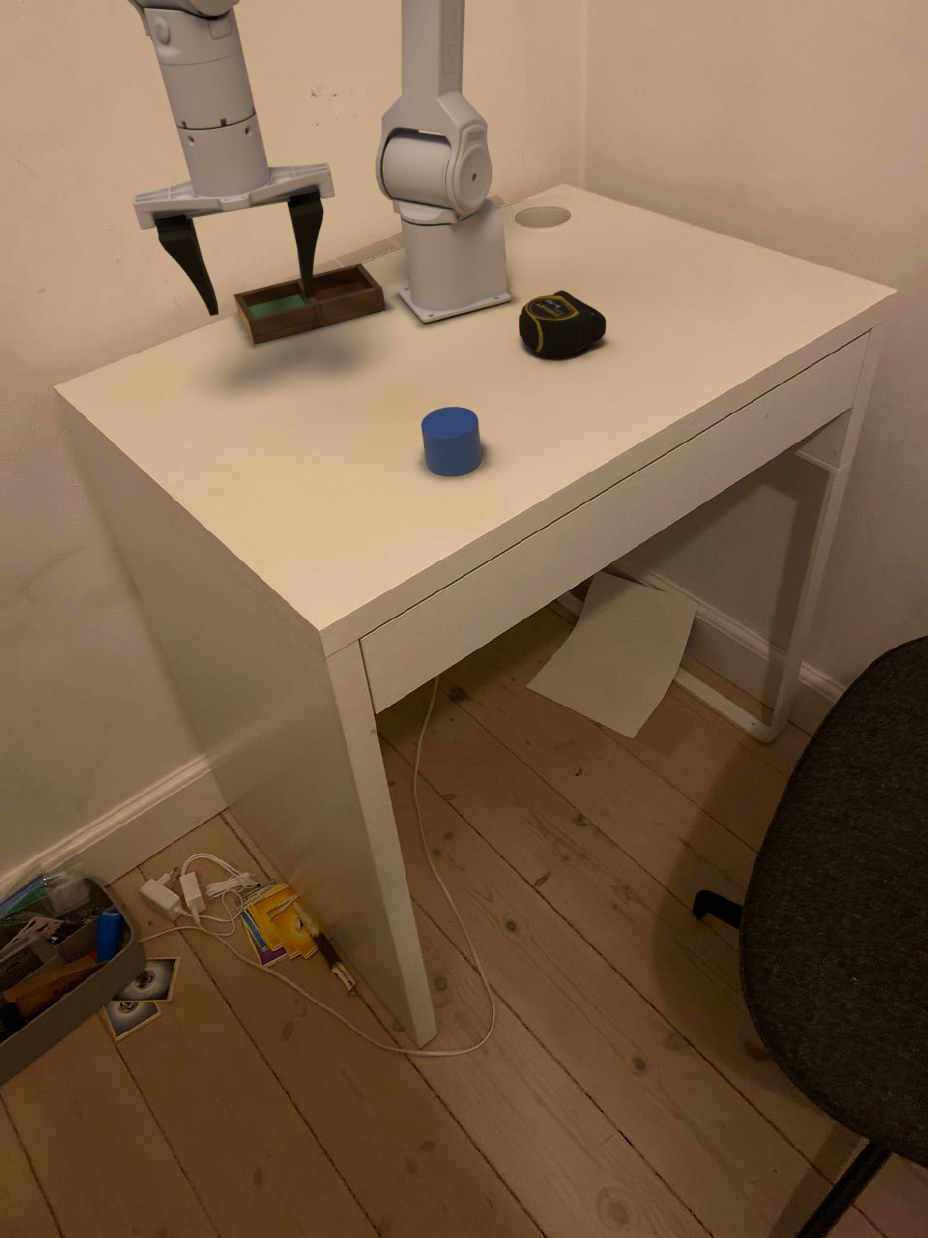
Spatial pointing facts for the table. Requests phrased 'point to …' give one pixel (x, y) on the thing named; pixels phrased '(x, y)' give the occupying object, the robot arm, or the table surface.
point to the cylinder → (451, 441)
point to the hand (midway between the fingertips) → (261, 301)
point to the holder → (309, 303)
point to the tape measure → (560, 324)
